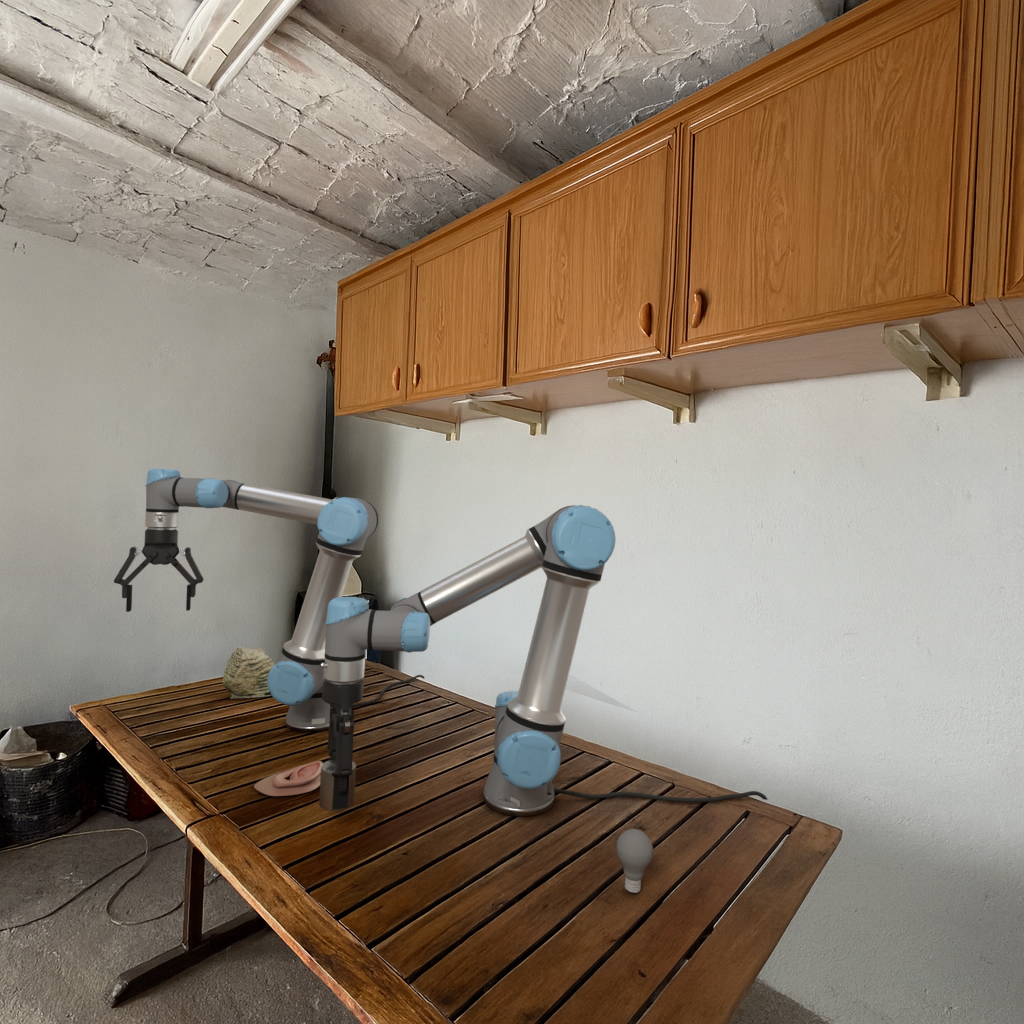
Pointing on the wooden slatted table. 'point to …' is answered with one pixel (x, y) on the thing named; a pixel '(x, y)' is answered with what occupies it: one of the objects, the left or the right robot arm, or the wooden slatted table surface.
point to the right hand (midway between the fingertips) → (337, 798)
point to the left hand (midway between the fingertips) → (158, 610)
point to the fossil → (248, 673)
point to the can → (328, 782)
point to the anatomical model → (292, 781)
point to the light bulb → (634, 857)
